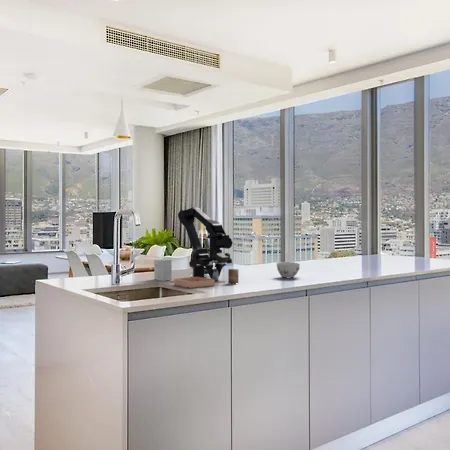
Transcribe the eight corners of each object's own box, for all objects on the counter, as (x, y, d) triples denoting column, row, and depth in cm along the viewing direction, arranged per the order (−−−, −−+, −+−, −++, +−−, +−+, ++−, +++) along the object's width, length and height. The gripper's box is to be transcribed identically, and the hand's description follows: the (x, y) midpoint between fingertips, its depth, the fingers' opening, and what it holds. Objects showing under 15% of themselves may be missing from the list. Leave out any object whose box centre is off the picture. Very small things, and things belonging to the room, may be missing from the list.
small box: (171, 280, 267) (171, 259, 266) (162, 281, 263) (162, 260, 263) (162, 278, 273) (163, 258, 272) (153, 279, 269) (154, 259, 269)
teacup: (287, 279, 273) (287, 264, 272) (271, 277, 283) (271, 262, 282) (307, 277, 281) (307, 263, 281) (291, 275, 292) (291, 261, 291)
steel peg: (209, 280, 266) (209, 269, 266) (215, 280, 269) (215, 268, 269) (213, 281, 263) (213, 269, 263) (219, 281, 266) (220, 269, 265)
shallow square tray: (174, 284, 250) (174, 278, 250) (198, 282, 258) (198, 276, 258) (190, 288, 239) (190, 282, 239) (214, 286, 247) (214, 279, 247)
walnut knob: (226, 283, 257) (226, 269, 257) (234, 282, 260) (234, 268, 260) (232, 284, 253) (232, 270, 253) (240, 283, 256) (240, 269, 256)
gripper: (209, 249, 253) (209, 281, 254) (238, 247, 265) (238, 278, 265) (196, 247, 262) (196, 278, 263) (225, 246, 274) (225, 276, 274)
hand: (214, 277), depth 266 cm, fingers closed on steel peg, 4 cm apart
